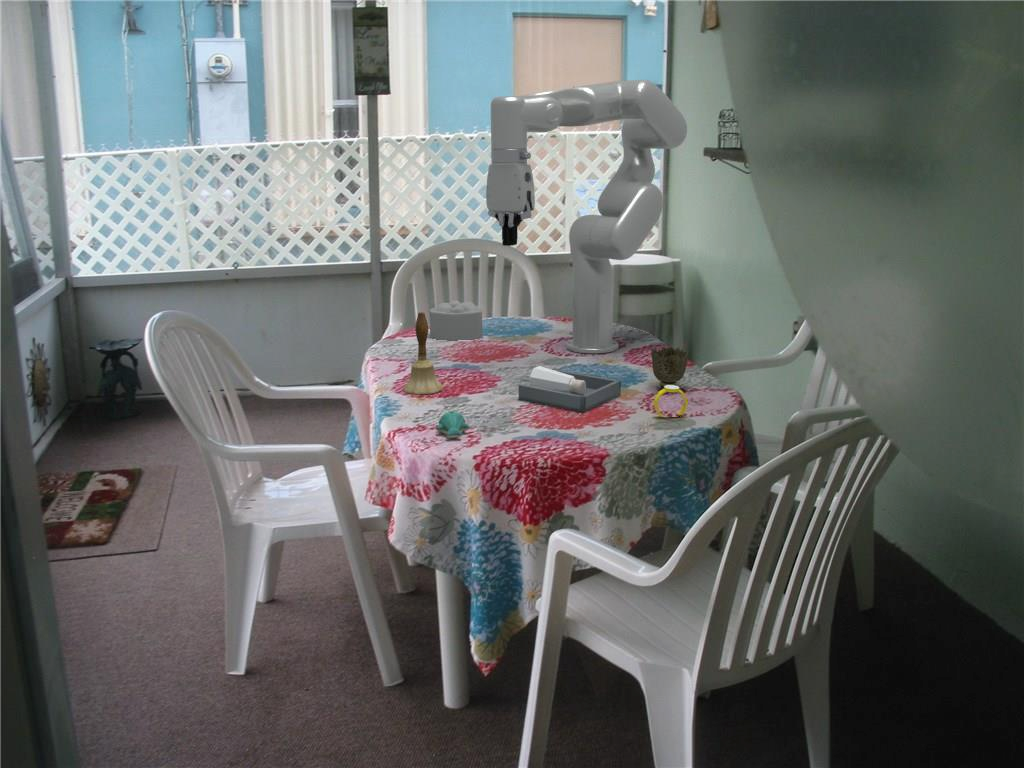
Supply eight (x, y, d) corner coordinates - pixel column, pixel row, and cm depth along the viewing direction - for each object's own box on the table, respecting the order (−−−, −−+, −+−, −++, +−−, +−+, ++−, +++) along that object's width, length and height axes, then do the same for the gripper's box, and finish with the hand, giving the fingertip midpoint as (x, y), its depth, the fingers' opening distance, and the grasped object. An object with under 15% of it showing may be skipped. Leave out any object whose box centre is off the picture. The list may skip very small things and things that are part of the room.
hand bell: (406, 383, 196) (403, 309, 192) (445, 383, 196) (443, 308, 192) (400, 395, 188) (397, 317, 184) (441, 395, 188) (439, 317, 184)
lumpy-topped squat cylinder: (484, 340, 234) (483, 306, 232) (432, 342, 232) (431, 308, 230) (478, 331, 244) (477, 298, 242) (428, 333, 242) (427, 300, 240)
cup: (664, 395, 186) (665, 356, 184) (642, 386, 193) (644, 348, 191) (694, 390, 190) (696, 351, 188) (672, 381, 196) (673, 344, 194)
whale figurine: (468, 427, 168) (467, 407, 167) (470, 441, 161) (470, 420, 160) (435, 429, 168) (435, 408, 167) (436, 442, 161) (436, 421, 160)
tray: (557, 383, 195) (557, 369, 194) (620, 395, 187) (620, 380, 186) (518, 399, 184) (518, 385, 183) (583, 412, 176) (583, 397, 175)
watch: (682, 415, 175) (686, 385, 173) (687, 420, 172) (690, 389, 170) (651, 414, 174) (654, 384, 172) (655, 419, 171) (658, 388, 170)
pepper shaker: (531, 397, 189) (579, 406, 184) (526, 375, 186) (574, 384, 180) (544, 381, 193) (591, 390, 187) (539, 360, 190) (587, 368, 184)
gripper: (548, 157, 195) (548, 245, 200) (491, 156, 204) (492, 240, 209) (527, 159, 190) (528, 249, 195) (470, 157, 198) (471, 244, 203)
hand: (509, 244), depth 202 cm, fingers closed
